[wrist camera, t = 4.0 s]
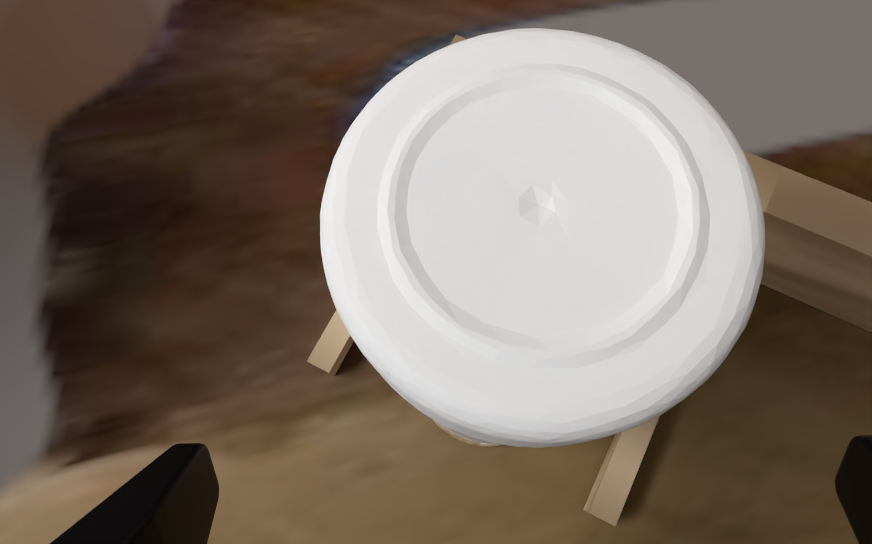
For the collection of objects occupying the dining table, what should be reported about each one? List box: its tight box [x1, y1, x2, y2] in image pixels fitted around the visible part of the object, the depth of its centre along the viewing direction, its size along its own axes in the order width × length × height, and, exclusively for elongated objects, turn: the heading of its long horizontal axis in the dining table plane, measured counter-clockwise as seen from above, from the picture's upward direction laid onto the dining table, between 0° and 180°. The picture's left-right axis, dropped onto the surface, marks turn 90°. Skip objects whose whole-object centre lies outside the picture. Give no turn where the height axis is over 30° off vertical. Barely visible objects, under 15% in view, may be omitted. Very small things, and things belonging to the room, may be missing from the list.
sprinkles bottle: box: [320, 28, 765, 448], centre depth 12 cm, size 5×5×14 cm
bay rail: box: [307, 35, 872, 526], centre depth 16 cm, size 11×29×4 cm, turn 63°
